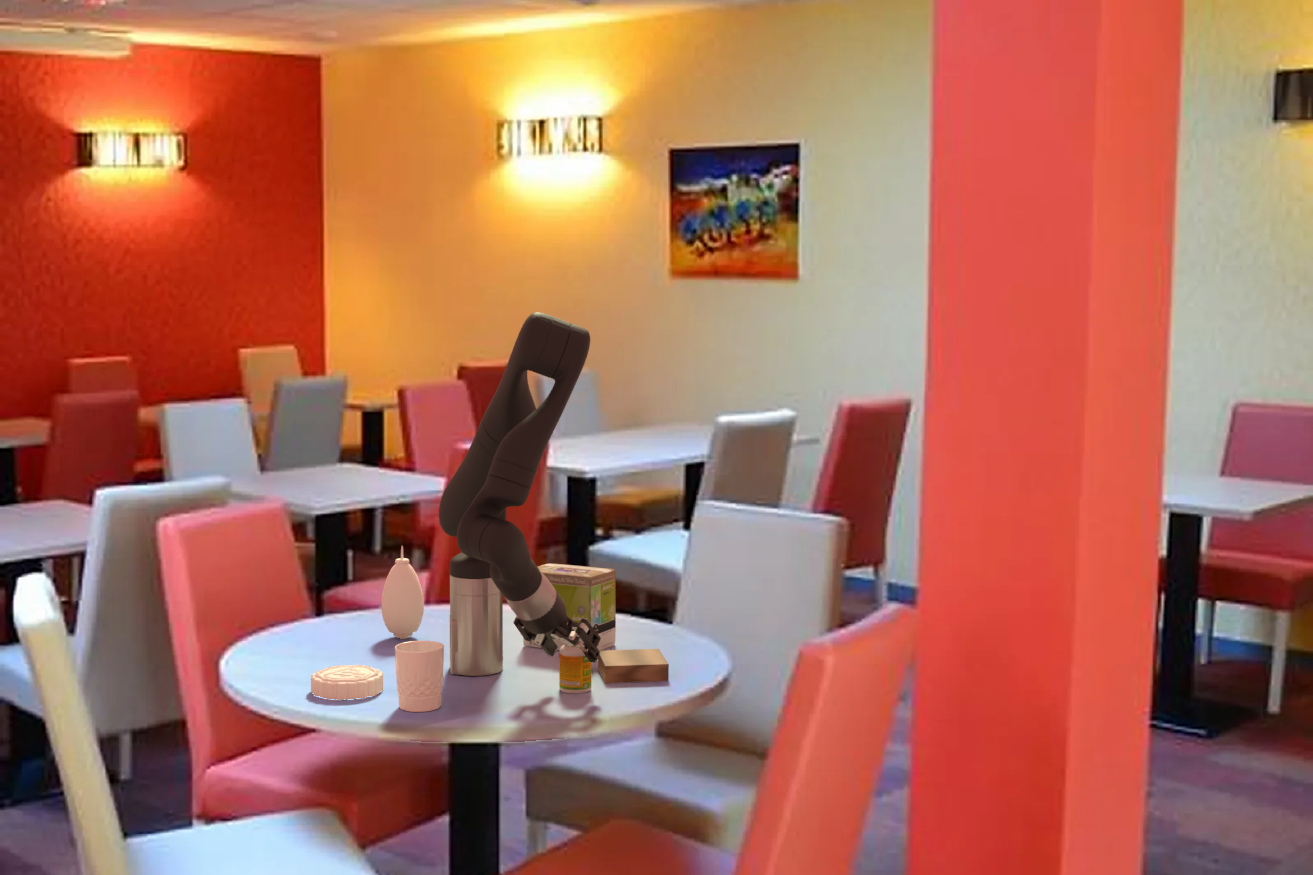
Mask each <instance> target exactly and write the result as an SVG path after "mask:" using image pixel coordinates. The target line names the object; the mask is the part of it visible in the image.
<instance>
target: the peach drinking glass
mask: <svg viewBox="0 0 1313 875" xmlns="http://www.w3.org/2000/svg"><path fill="white" fill-rule="evenodd" d="M444 655H445V645H444V644H443V643H442V642H438V641H433V640H432V641H431V640H412V641H411V640H410V641H404V642H401V643H398V644H396V645H395V646H394V656H395V657H394V658H395V674H396V688H397V689H396V690H397V693H398V695H397V696H398V707H399V709H400V710H402V711H404V710H405V711H406V712H409V713H410V712H411V713H413V712H414V713H423V712H424V713H425V712H431V711H435V710H438V709H439V708H441V707H442V689H443V681H444V679H443V678H444V662H445V661H444V658H445V656H444Z"/></svg>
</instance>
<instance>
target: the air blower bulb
mask: <svg viewBox="0 0 1313 875" xmlns="http://www.w3.org/2000/svg"><path fill="white" fill-rule="evenodd" d="M400 548H401V549H400V558H396V559H395V561H394V565H393V566H392V567H391V568H390V570H389V573H388V574H387V577H386V580H385V582H384V584H383V585H384V586H383V589H382V595H381V604H380V605H381V614H382V620H383V622H384V625H385V627H386V629H387V630H388V632H389V633H391V634H393V636H394V637H395V638H397V639H399V638H400V639H399V640H406V639H409V637H412V636H413V633H415V632H417V631H418V629H419V628H420V626H421V623H422V620H423V616H424V612H425V602H424V600H425V598H424V593H423V589H422V588H423V587H422V585H421V582H420V579H419V577H418V574H417V572H416V571H415V569H414V567H413V566H412V565H411V563H410V559H409V558H405V557H404V546H403V545H401V547H400Z"/></svg>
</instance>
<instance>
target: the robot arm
mask: <svg viewBox="0 0 1313 875" xmlns="http://www.w3.org/2000/svg"><path fill="white" fill-rule="evenodd" d="M518 332H519V333H518V335H517V338H516V339H515V342H514V345H513V347H512V350H511V353H510V356H509V359H508V361H507V364H506V366H505V368H504V372H503V375H502V378H501V379H500V382H499V384H498V386H497V388H496V391H495V393H494V395H493V397H492V398H491V400H490V403H489V404H488V406H487V408H486V410H485V412H484V414H483V417H482V418H481V420H480V422H479V425H478V426H477V429H476V432H475V434H474V437H473V440H472V442H471V443H470V446H469V447H468V450H467V451H466V454H465V456H464V458H463V460H462V461H461V463H460V465H459V467H458V468H457V470H456V471H455V473H454V474H453V476H452V477H451V479H450V481H449V482H448V484H447V485H446V488H445V489H444V491H443V494H442V496H441V498H440V500H439V501H440V502H439V507H438V521H439V524H440V527H441V530H442V532H444V533H445V534H446V535H448V536H449V537H450V536H451V537H452V538H453V537H454V538H456V544H457V547H458V548H459V550H460V552H459V553H458V554H456V555H454V556H453V557H452V558H451V559H450V561H449V669H450V674H451V675H461V676H469V677H470V676H471V677H473V676H474V677H476V676H478V677H479V676H488V675H489V676H490V675H494V674H497V673H500V672H502V671H503V669H504V666H503V664H504V662H503V661H504V651H503V648H504V646H503V644H504V643H503V642H504V641H503V638H504V637H503V636H504V634H503V631H504V629H503V627H504V626H503V624H504V623H503V621H504V619H503V614H504V613H503V609H504V608H503V606H504V605H503V604H504V603H503V600H504V599H503V597H504V598H505V600H506V602H507V604H508V606H509V608H510V609H511V610H512V612H513V613H514V614H515V618H514V620H513V624H514V626H515V627H516V628H517V631H518V632H519V633H520V635H521V636H522V638H524V639H525V640H526V641H531V639H532V640H534V642H535V643H536V644H538V645H540V646H541V647H542V648H541V649H542V650H543V651H544V652H545V653H546V654H547V656H549V657H554V655H555V653H556V652H557V650H556V649H557V645H556V643H555V642H554V641H553V639H558V640H561V641H563V642H564V643H566V644H567V645H569V646H571V647H573V646H576V647H577V648H579V649H581V650H582V652H583V653H584V654H585V656H586V657H587V658H588V660H589V661H590V662H591V664H592V663H593V664H595V663H596V662H597V661H598V656H599V654H600V652H599V650H598V649H597V646H598V644H599V642H600V639H601V637H600V636H599V635H598V634H597V632H596V631H595V630H594V628H593V627H592V626H591V625H590V623H589V622H588V621H587V620H586V619H581V621H580V623H578V622H574V621H573V620H572V619H571V618H569V617H568V616H567V613H566V606H565V603H564V601H563V600H562V598H561V597H560V595H559V594H558V593H557V591H556V590H555V588H554V587H553V586H552V584H551V583H550V581H549V580H548V579H547V577H546V576H545V575H544V574H543V573H542V572H541V571H540V570H539V569H538V565H537V564H536V563H535V562H534V560H533V559H532V557H531V554H530V553H531V552H530V549H529V547H528V544H527V540H526V537H525V535H524V533H523V531H522V530H521V529H520V528H519V527H518V526H517V525H516V524H515V523H513V522H511V521H509V520H507V508H509V507H520V506H524V505H525V503H526V502H527V500H528V498H529V495H530V492H531V489H532V486H533V483H534V480H535V477H536V475H537V472H538V469H539V466H540V463H541V460H542V457H543V456H544V453H545V451H546V448H547V446H548V444H549V441H550V439H551V437H552V435H553V434H554V431H555V429H556V427H557V425H558V423H559V421H560V419H561V417H562V415H563V413H564V410H565V409H566V406H567V404H568V402H569V400H570V397H571V395H572V393H573V391H574V389H575V386H576V384H577V382H578V379H579V377H580V376H581V373H582V370H583V368H584V366H585V364H586V360H587V357H588V354H589V350H590V346H591V335H590V332H589V331H588V330H587V329H586V328H584V327H582V326H579V325H577V324H574V323H572V322H569V321H566V320H563V319H561V318H559V317H556V316H553V315H550V314H547V313H543V312H539V311H536V312H532V313H531V314H529V315H528V316H527V317H526V319H525V320H524V322H523V324H522V326H521V328H520V330H519V331H518ZM528 371H530V372H533V373H535V374H538V375H540V376H543V377H546V378H548V379H549V378H550V379H552V380H554V383H553V386H552V388H551V390H550V392H549V393H548V395H547V397H546V398H545V399H544V401H543V402H542V403H541V404H540V405H539V406H538V407H537V406H536V403H535V401H534V398H533V394H532V392H531V389H530V386H529V380H528ZM572 630H575V634H574V636H573V638H572V640H570V639H569V636H570V634H571V632H572ZM579 638H581V640H582V641H583V642H584V643H583V644H582V643H580V642H579Z"/></svg>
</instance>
